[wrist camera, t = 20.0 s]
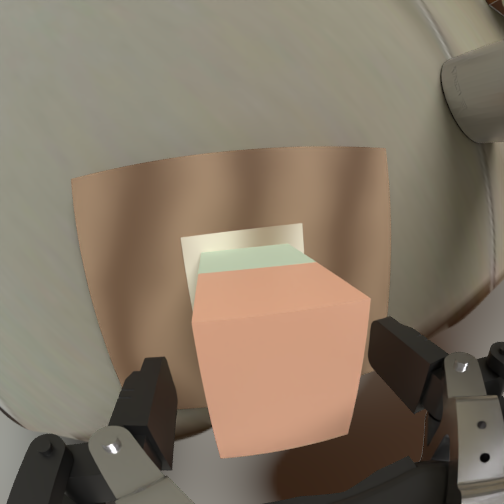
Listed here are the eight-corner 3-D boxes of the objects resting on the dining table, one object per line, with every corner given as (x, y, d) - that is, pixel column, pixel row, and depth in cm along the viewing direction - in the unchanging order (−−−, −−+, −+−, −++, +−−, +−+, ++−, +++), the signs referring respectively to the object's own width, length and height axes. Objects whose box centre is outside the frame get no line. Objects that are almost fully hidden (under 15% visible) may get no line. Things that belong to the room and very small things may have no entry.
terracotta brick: (316, 262, 12) (370, 298, 7) (313, 374, 13) (347, 434, 9) (198, 273, 11) (191, 322, 7) (215, 388, 12) (220, 458, 8)
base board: (373, 150, 17) (386, 148, 16) (371, 360, 21) (380, 369, 19) (81, 180, 15) (70, 179, 13) (136, 398, 19) (132, 411, 17)
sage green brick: (288, 243, 16) (315, 261, 12) (291, 334, 17) (314, 373, 13) (201, 252, 15) (197, 274, 11) (214, 345, 17) (216, 389, 12)
